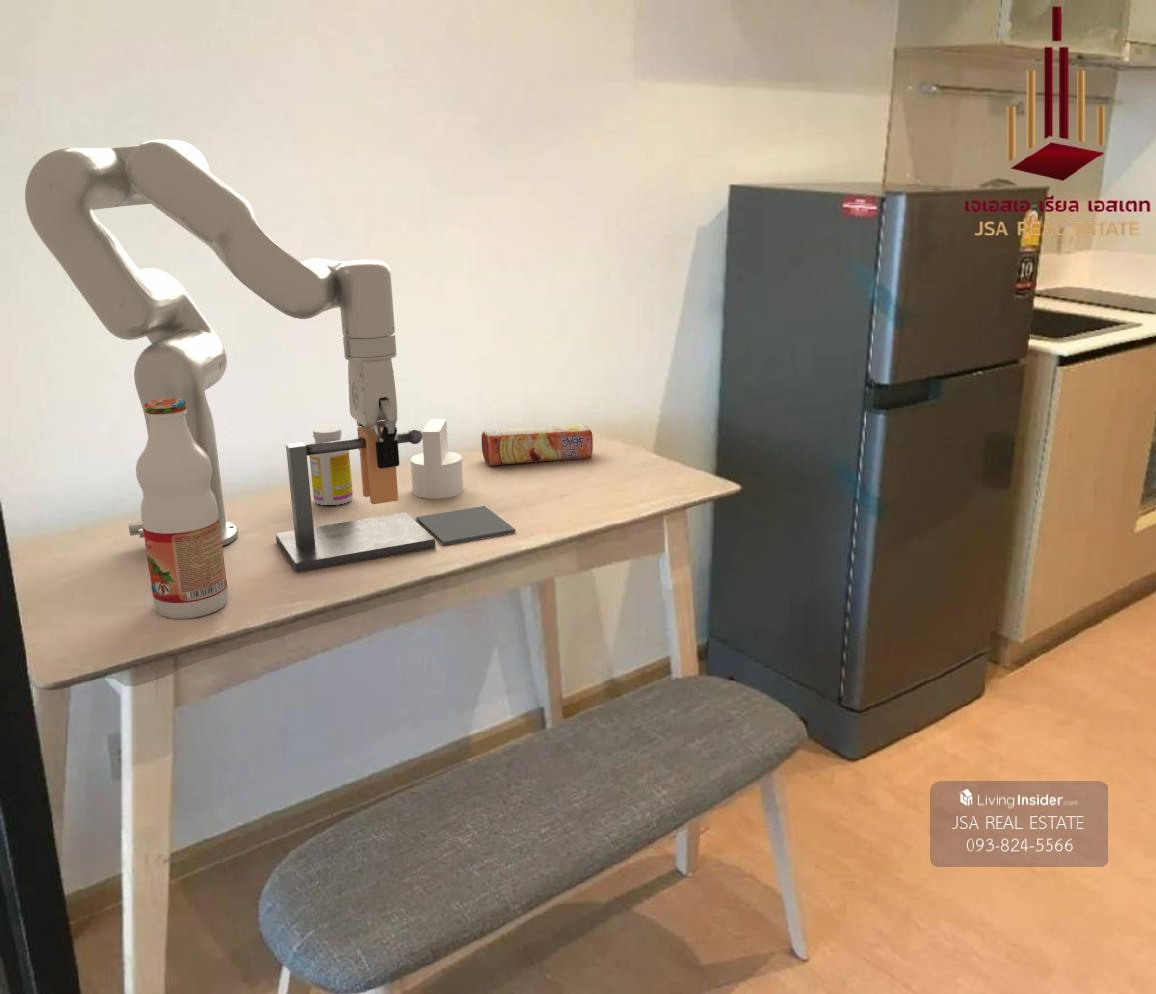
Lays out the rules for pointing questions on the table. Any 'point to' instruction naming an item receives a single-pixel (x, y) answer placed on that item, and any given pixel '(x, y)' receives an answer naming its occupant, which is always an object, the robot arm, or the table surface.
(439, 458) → the base with upright slab
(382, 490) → the hook link
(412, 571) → the table surface
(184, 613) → the fruit juice
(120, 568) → the table surface
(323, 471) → the supplement bottle
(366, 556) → the hanger stand
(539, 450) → the snack package
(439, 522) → the rubber mat
